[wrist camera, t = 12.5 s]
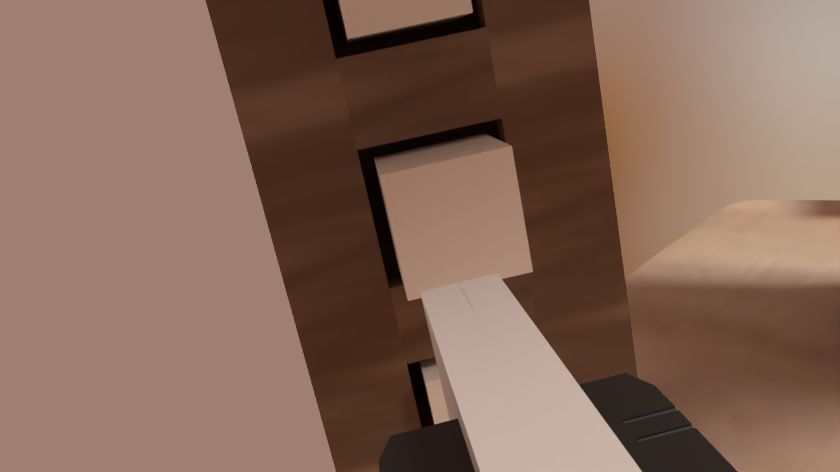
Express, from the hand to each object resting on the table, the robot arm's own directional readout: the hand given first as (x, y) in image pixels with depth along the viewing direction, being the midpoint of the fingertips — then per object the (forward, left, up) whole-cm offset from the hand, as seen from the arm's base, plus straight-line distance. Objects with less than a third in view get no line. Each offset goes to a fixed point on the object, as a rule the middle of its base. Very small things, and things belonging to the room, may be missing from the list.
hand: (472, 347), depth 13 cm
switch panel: (+8, -11, -16) cm, 21 cm away
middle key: (+5, -8, -2) cm, 10 cm away
